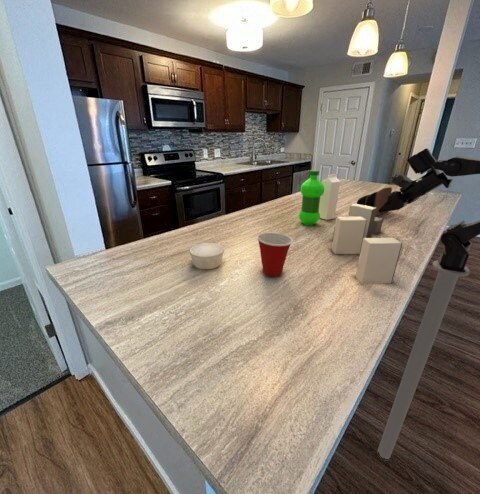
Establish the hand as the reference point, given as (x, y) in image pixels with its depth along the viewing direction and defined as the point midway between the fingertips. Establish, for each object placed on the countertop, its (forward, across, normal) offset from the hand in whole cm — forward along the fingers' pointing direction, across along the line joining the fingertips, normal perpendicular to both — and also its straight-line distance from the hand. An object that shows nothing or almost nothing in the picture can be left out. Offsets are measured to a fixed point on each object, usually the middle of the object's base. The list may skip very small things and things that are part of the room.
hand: (383, 209), depth 101 cm
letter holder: (+23, -39, -3) cm, 46 cm away
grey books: (+15, 0, +4) cm, 16 cm away
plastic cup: (+18, +50, +1) cm, 54 cm away
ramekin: (+31, +62, -12) cm, 71 cm away
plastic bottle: (+32, +2, -12) cm, 34 cm away
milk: (+31, -13, -12) cm, 36 cm away
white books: (+7, +25, +12) cm, 29 cm away
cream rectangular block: (+15, 0, +4) cm, 16 cm away
